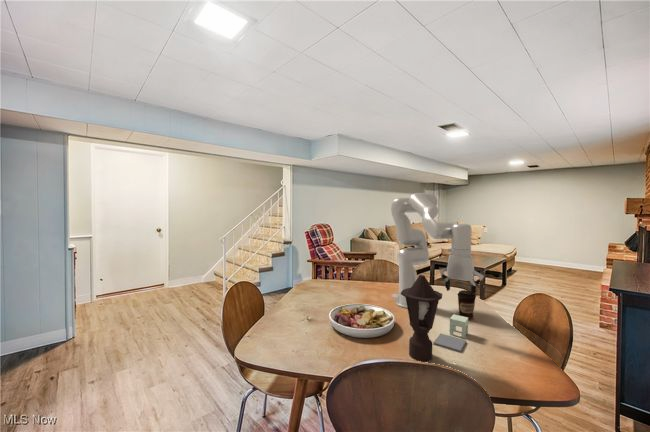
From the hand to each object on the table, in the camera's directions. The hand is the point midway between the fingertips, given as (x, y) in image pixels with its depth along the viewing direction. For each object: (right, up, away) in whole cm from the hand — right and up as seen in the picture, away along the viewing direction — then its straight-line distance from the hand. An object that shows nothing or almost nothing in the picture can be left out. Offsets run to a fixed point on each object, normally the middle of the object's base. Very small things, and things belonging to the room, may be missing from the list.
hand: (460, 292), depth 120 cm
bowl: (-41, -19, +10) cm, 46 cm away
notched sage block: (0, -18, +1) cm, 18 cm away
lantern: (-23, -19, -16) cm, 34 cm away
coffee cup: (+12, -18, +18) cm, 28 cm away
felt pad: (-8, -19, -7) cm, 22 cm away
